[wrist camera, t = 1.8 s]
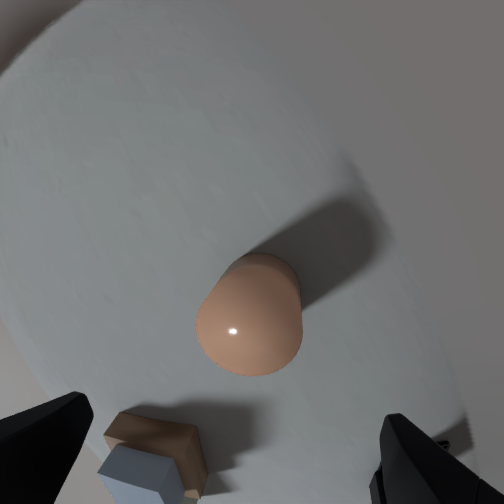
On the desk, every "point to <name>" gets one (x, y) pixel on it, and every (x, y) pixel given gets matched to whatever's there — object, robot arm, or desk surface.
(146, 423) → the tower base
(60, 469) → the robot arm
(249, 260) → the clay cylinder
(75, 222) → the desk surface
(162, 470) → the tower mid
